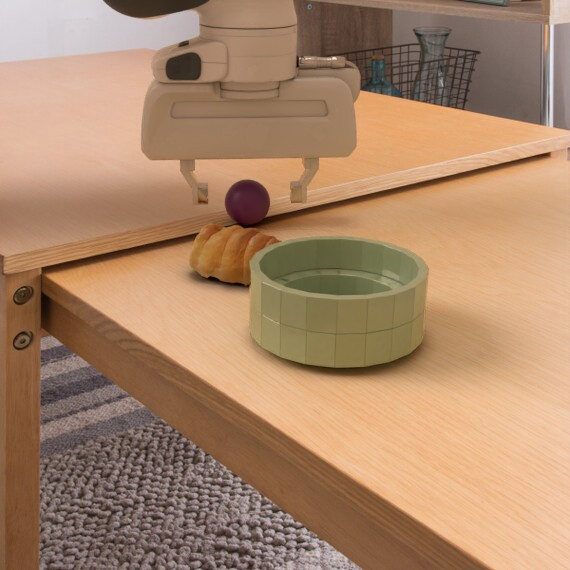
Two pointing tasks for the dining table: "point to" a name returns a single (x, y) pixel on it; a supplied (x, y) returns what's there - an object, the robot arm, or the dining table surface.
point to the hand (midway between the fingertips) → (249, 202)
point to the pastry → (227, 251)
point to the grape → (247, 202)
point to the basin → (337, 300)
